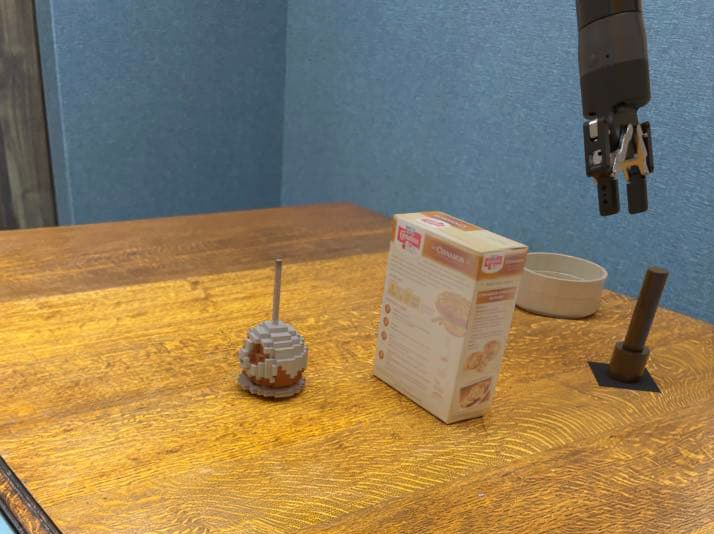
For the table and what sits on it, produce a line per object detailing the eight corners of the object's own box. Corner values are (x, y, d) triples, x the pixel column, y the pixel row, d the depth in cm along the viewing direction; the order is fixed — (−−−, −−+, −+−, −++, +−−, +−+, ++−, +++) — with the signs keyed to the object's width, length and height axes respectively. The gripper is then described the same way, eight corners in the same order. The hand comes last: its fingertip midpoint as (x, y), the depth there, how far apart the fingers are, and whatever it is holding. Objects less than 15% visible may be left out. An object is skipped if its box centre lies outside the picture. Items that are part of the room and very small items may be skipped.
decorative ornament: (229, 376, 98) (232, 251, 90) (288, 370, 101) (297, 247, 93) (252, 405, 93) (258, 273, 84) (314, 397, 96) (326, 269, 87)
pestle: (636, 371, 109) (671, 266, 101) (644, 385, 105) (681, 277, 97) (603, 367, 109) (636, 262, 101) (610, 381, 105) (644, 273, 97)
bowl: (587, 294, 136) (597, 257, 132) (605, 324, 124) (616, 285, 121) (502, 284, 136) (510, 248, 133) (512, 314, 125) (521, 275, 121)
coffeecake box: (492, 414, 96) (532, 245, 84) (446, 426, 92) (481, 251, 81) (414, 365, 106) (440, 208, 94) (369, 374, 102) (391, 212, 91)
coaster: (645, 370, 110) (646, 367, 110) (660, 396, 104) (661, 392, 104) (586, 364, 111) (587, 361, 110) (598, 389, 104) (599, 385, 104)
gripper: (620, 49, 87) (632, 208, 91) (668, 61, 97) (677, 205, 101) (554, 73, 92) (569, 223, 96) (607, 83, 102) (618, 219, 106)
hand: (624, 214), depth 98 cm, fingers open, 8 cm apart
